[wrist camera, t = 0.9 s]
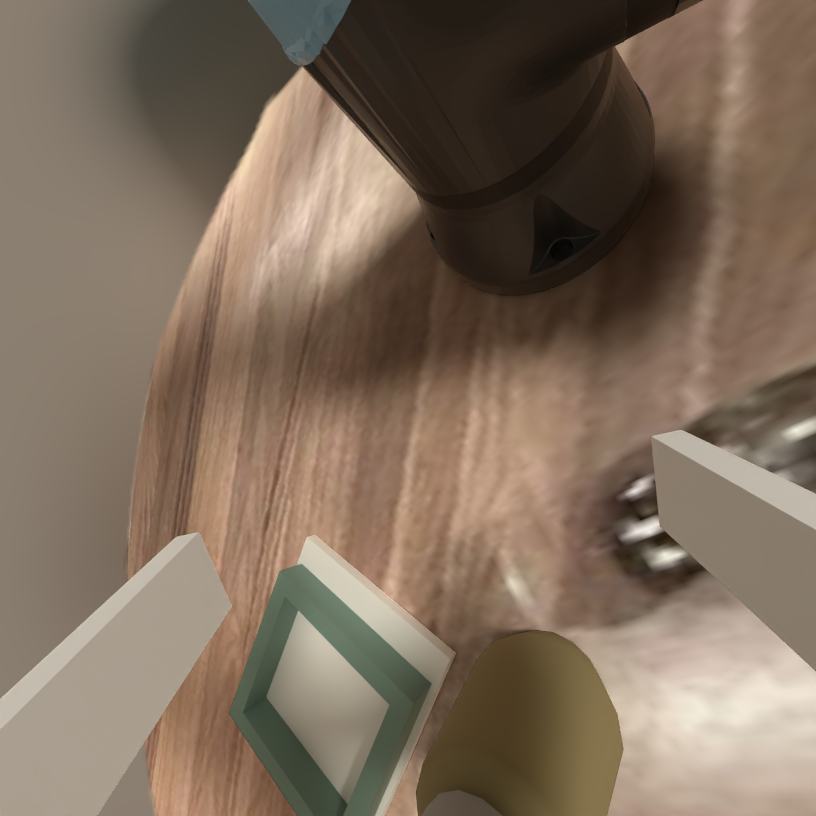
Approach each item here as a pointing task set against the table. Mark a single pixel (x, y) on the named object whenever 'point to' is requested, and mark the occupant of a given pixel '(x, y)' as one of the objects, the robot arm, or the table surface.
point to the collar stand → (337, 687)
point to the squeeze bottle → (525, 736)
